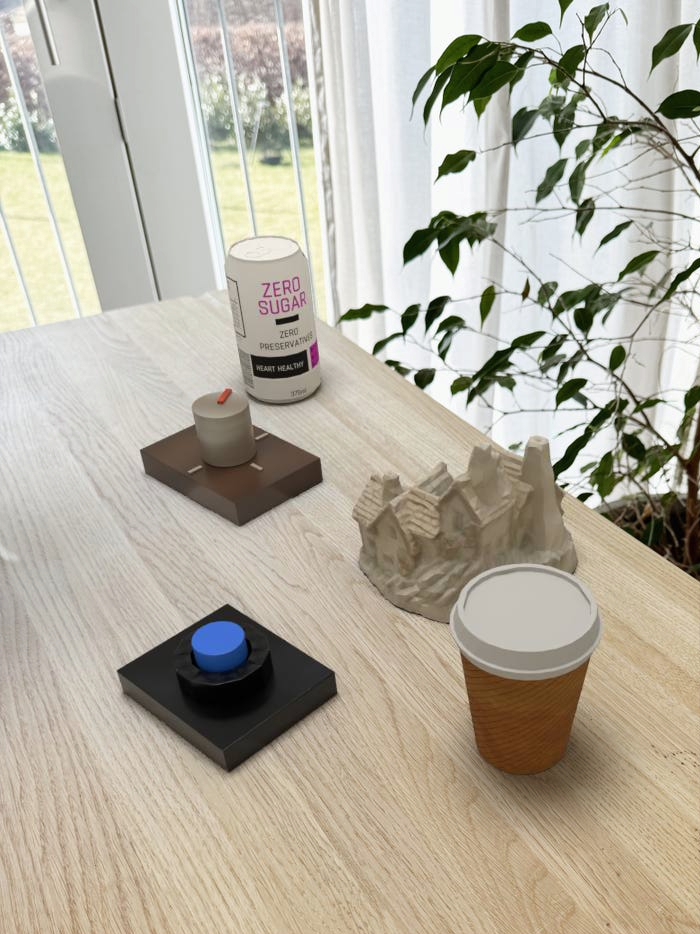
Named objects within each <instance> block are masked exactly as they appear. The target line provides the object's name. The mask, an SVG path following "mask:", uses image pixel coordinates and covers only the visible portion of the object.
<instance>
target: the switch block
mask: <svg viewBox="0 0 700 934" xmlns="http://www.w3.org/2000/svg"><path fill="white" fill-rule="evenodd" d="M219 621H227V622H232V623H235V624H237V625H239V626H240V627H241V628H242V629H243V631H244V634H245V639H246V644H247V649H248V656H247V659H246V661H245V662H244V663H243V664H241V665H240V666H238V667H237V668H235V669H233V670H229V671H224V672H220V673H213V672H206V671H204V670H202V669H201V668H199V666H198V665H197V663H196V660H195V656H194V652H193V648H192V643H191V641H192V637H193V635H194V634H195V632H196V631H197V630H198V629H200V628H201V627H203V626H205V625H207V624H210V623H213V622H219ZM116 673H117V677H118V680H119V682H120V683H119V684H120V685H121V686H120V687H121V689H122V691H123V694H125V695H127V697H129V698H130V699H131V700H132V701H134V702H135V703H137V704H138V705H139V706H141V708H143V709H145V710H146V711H147V712H148V713H149V714H151V715H152V716H154V717H155V718H157V719H158V720H159V721H160V722H161V723H163V724H164V725H166V727H168V728H170V729H171V730H172V731H173V732H175V733H176V734H177V735H179V736H180V737H181V738H182V739H184V740H185V741H187V742H188V743H189V744H191V745H192V746H193V747H194V748H196V749H197V750H198V751H199V752H201V753H202V754H203V755H204V756H206V757H208V759H210V760H211V761H212V762H214V763H215V764H216V765H218V766H219V767H220V768H222V769H223V770H224V771H225V772H227V773H228V774H229V773H231V772H232V771H234V770H235V769H237V768H238V767H239V766H240V765H242V764H244V762H246V761H247V760H249V759H250V758H252V757H253V756H254V755H255V754H257V753H258V752H259V751H261V750H262V749H264V748H265V747H266V746H268V745H269V744H271V743H272V742H273V741H275V740H276V739H278V738H279V737H280V736H282V735H283V734H284V733H286V732H287V731H289V730H290V729H291V728H293V727H294V726H295V725H297V724H298V723H299V722H301V721H303V720H304V719H305V718H306V717H308V716H309V715H310V714H312V713H314V711H317V710H318V709H319V708H320V707H321V706H323V705H324V704H326V703H327V702H329V701H330V700H332V698H334V697H336V695H338V687H337V678H336V672H335V671H334V670H332V669H331V668H329V667H328V666H326V665H325V664H324V663H322V662H320V661H318V660H317V659H315V658H314V657H312V656H311V655H309V654H307V653H306V652H304V651H303V650H301V649H300V648H298V647H297V646H295V645H294V644H292V643H290V642H288V641H287V640H285V638H283V637H281V636H279V635H277V634H276V633H274V632H273V631H272V630H270V629H268V628H267V627H265V626H263V625H262V624H261V623H259V622H257V621H256V620H254V619H253V618H252V617H250V616H248V615H246V614H245V613H243V612H242V611H240V610H238V609H237V608H235V607H233V605H231V604H229V603H225V604H223V605H222V606H221V607H219V608H217V609H216V610H214V611H212V612H210V613H209V614H207V615H206V616H204V617H202V618H201V619H199V620H196V621H195V622H194V623H192V624H191V625H189V626H188V627H186V628H184V629H182V630H180V631H179V632H178V633H175V634H174V635H173V636H171V637H169V638H168V639H166V640H165V641H162V642H161V643H159V644H158V645H156V646H154V647H153V648H151V649H149V650H148V651H146V652H145V653H143V654H141V655H140V656H138V657H136V658H134V659H133V660H131V661H129V662H128V663H126V664H125V665H123V666H121V667H120V668H118V669H116Z"/></svg>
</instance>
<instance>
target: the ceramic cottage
mask: <svg viewBox="0 0 700 934" xmlns="http://www.w3.org/2000/svg"><path fill="white" fill-rule="evenodd" d="M524 447H525V448H524V451H523V452H524V453H523V456H522V455H520V454H518V453H514V452H510V451H506V450H504V449H502V448H499V447H497V446H495V445H492V444H491V443H489V442H487V441H481V440H479V441H476V442H475V444H474V446H473V449H472V451H471V454H470V457H469V458H468V464H467V470H466V471H465V472H464V473H462V474H459V475H457V476H456V477H455V478H454V477H453V476H452V474H451V473H450V472H449V471H448V464H447V463H445V462H444V461H440V462H438V464H437V465H435V467H434V468H432V469H431V470H430V472H429V473H428V474H427V475H425V476H423V478H422V479H421V480H419V481H418V482H416V483H415V484H413V486H412V487H411V486H406V485H402V483H401V481H400V475H399V474H397V473H396V472H394V471H392V470H390V469H389V470H385V471H384V473H383V475H381V473H379V472H374V473H370V478H369V479H368V480H367V482H366V483H365V488H364V489H363V490H362V492H361V494H360V495H359V496H358V499H357V501H356V503H355V505H354V506H353V508H352V513H351V518H352V519H353V520H354V521H355V523H357V524H358V529H359V534H360V539H361V543H362V545H361V547H360V548H359V558H358V565H359V568H360V570H362V573H363V574H365V575H366V577H367V578H368V580H369V582H371V584H373V585H374V586H375V587H376V588H377V590H379V593H380V594H381V595H382V596H383V598H384V599H385V600H388V601H389V603H391V604H392V605H394V606H396V607H399V608H401V609H403V610H405V611H408V612H409V613H412V612H413V613H415V614H417V615H419V614H420V615H421V616H422V617H423V619H424V618H427V619H429V620H433V621H436V622H439V623H442V624H444V623H450V614H451V611H452V609H453V607H454V605H455V603H456V602H457V601H458V599H459V596H460V594H461V591H462V589H463V588H464V587H465V586H466V585H467V584H468V583H469V581H470V580H472V579H473V578H475V577H476V576H478V575H479V574H481V573H483V572H485V571H488V570H490V569H493V568H496V567H500V566H504V565H511V564H527V563H529V564H539V565H545V566H550V567H553V568H556V569H559V570H561V571H564V572H567V573H569V574H571V575H573V573H574V572H575V571H576V568H577V563H578V562H579V560H578V556H577V552H576V546H575V543H574V540H573V538H572V534H571V531H570V530H569V529H568V528H567V527H566V526H565V524H564V519H563V516H564V514H565V511H564V509H563V508H562V501H563V499H564V498H565V496H566V495H567V494H568V492H566V491H564V489H562V488H560V486H559V483H557V482H555V473H554V468H553V464H552V460H551V448H550V447H551V446H550V440H549V439H548V438H546V437H544V436H541V435H532V436H530V437H529V439H528V440H527V442H526V444H525V446H524Z"/></svg>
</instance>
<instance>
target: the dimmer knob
mask: <svg viewBox="0 0 700 934" xmlns="http://www.w3.org/2000/svg"><path fill="white" fill-rule="evenodd" d="M191 411H192V416H193V421H194V424H195V426H196V431H197V436H198V441H199V446H200V450H201V455H202V459H203V460H204V461H205V462H206V463H208V464H210V465H212V466H217V467H232V466H237V465H240V464H243V463H246V462H248V461H249V460H251V459H252V458H253V457H254V456H255V454H256V444H255V438H254V432H253V426H252V425H253V421H252V420H253V419H252V415H251V408H250V402H249V399H248V398H247V397H246V396H245V395H244V394H242V393H239V392H236V391H233V389H232V388H225V389H224V390H223V391H214V392H210V393H207V394H204V395H202V396H200V397H198V398H196V399H195V400H194V401H193V403H192V404H191Z"/></svg>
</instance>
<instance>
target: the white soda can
mask: <svg viewBox="0 0 700 934" xmlns="http://www.w3.org/2000/svg"><path fill="white" fill-rule="evenodd" d="M223 269H224V274H225V281H226V287H227V292H228V298H229V304H230V305H229V306H230V310H231V311H230V312H231V316H232V321H233V327H234V335H235V339H236V345H237V351H238V357H239V363H240V364H239V365H240V370H241V375H242V382H243V386H244V388H245V391H246V392H247V393H248V394H250V395H252V396H253V397H255V399H257V400H258V401H262V402H265V403H269V404H288V403H294V402H297V401H298V402H299V401H301V400H303V399H306V398H309V397H310V396H311V395H312V394H313V393H314V392H315V391H316V390H317V388H318V387H319V386H320V385H321V382H322V371H321V361H320V354H319V345H318V337H317V336H318V335H317V327H316V319H315V318H316V317H315V309H314V300H313V292H312V291H313V290H312V282H311V274H310V273H311V272H310V264H309V260H308V257H307V256H306V255H305V253H304V251H303V250H302V248H301V244H300V243H299V241H297V240H296V239H294V238H292V237H288V236H284V235H275V234H274V235H273V234H265V235H254V236H250V237H245V238H242V239H239V240H236V241H235V242H233V243H231V244H230V245H229V246H228V249H227V256H226V258H225V260H224V264H223Z"/></svg>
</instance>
